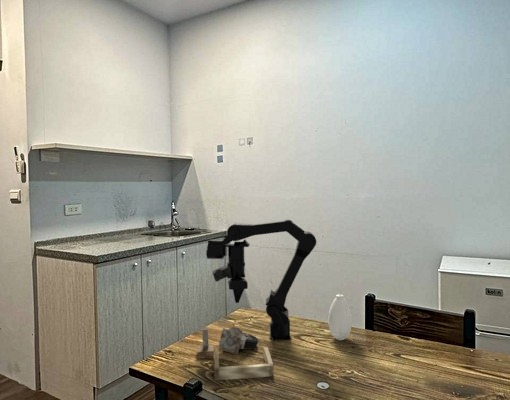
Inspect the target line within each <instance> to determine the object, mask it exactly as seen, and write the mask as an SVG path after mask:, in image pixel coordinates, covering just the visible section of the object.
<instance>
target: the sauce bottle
mask: <svg viewBox="0 0 510 400" xmlns="http://www.w3.org/2000/svg"><path fill="white" fill-rule="evenodd" d="M338 288H339V290H338V294H336V295H335V298H334V299H333V301H332V303H331V304H330V307H329V312H328V317H327V319H328V320H327V323H328V328H329V332H330V333H331V335H332V337H334V339H335V340H337V341H343V340H345V339H346V338H348V336H349V335H350V334H351V330H352V323H353V321H352V312H351V310H350V307H349V304H348V302H347V300H346V299H345V296H344V295H343V294H341V287H338Z"/></svg>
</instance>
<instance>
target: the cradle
mask: <svg viewBox="0 0 510 400" xmlns="http://www.w3.org/2000/svg"><path fill="white" fill-rule="evenodd" d="M262 351H263V359H264V362H265V363H262V364H261V363H260V364H248V365H247V364H246V365H245V364H244V365H231V366H220V363H219V362H220V360H219V359H220V357H219V349H214V357H213V358H214V381H224V380H225V381H226V380H241V379H250V378H251V379H253V378H265V377H266V378H267V377H274V376H275V372H274V371H275V369H274V367H275V366H274V363H273V360H272V357H271V353H270V351H269V348H268V346H263V350H262Z"/></svg>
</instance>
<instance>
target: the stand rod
mask: <svg viewBox="0 0 510 400" xmlns="http://www.w3.org/2000/svg"><path fill="white" fill-rule="evenodd" d="M201 334H202V344H198V345H197V354H196V355H197V357H196V358H197V359H209V358H210V359H211V358H214V350H215V349H214V346H215V345H214V344H215V343H213V344H209V328H206V327H205V328H203V329H202V333H201Z"/></svg>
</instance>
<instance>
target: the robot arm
mask: <svg viewBox="0 0 510 400" xmlns="http://www.w3.org/2000/svg"><path fill="white" fill-rule="evenodd" d="M284 232H286V233H288V234H289V235H290V236H291V237H292V238H293V239H295V240H296V241H297V243H296V247H295V250H294V253H293V256H292V258H291V261H290V263H289V265H288V267H287V269H286V271H285V273H284V275H283V277H282V278H281V280H280V282H279V284H278V287H277V288H276V290H275V291H273V289H270V291H269V295H268V297H267V298H266V300H265V312H266V315H267V316H268V317H270V322H269V325H268V326H269V336H270V338H271V339H272V341H285V340H286V341H289V340H292V337H291V322H290V321H291V320H290V318H289V316H290V315H289V309H288V308H287V307H286V306H285V304H286V300H287V296H288V293H289V292H290V289H291V287H292V286H293V283H294V282H295V279H296V277H297V275H298V274H299V272H300V269H301V267H302V265H303V263H304V261H305V259H307V257H309V255H310V254H311V253H312V251H314V249H315V247H316V245H317V239H316V236H315V235H314V234H313V232H311V231H305V230H304V229H302V228H301V227H299V226H298V225H297V224H296V223H294V222H293V220H291V219H284V220H278V221H271V222H263V223H255V224H253V223H240V222H239V223H238V222H236V223H233V224H232V225H230V226H229V227H228V228H227V231H226V236H225V237H223V238H222V240H219V239H218V240H217V239H209V240H207V247H206V250H205V251H206V259H207V260H224V259H225V257H228V258H227V259H228V260H227V262H226V263H227V265H225V266H222V267H219V268H216V269H214V270H212V277H213V279H214V280H215V282H216V283H217V282H219V281H220V280H223V279H225V278H227V279H229V280H228V281H227V284H228V289H229V290H231V291H232V292H233V297H234V301H235V304H239V303H240V300H241V297H242V296H243V292H244V291H245V290H246V289H248V281H247V279H246V273H245V267H246V261H245V248H249V247H250V245H251V244H250V243H249V242H248V241H247V239H248V238H250V237H253V236H259V235H260V236H261V235H268V234H269V235H270V234H276V233H284ZM241 240H243V241H241ZM231 242H234V243H231Z"/></svg>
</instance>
